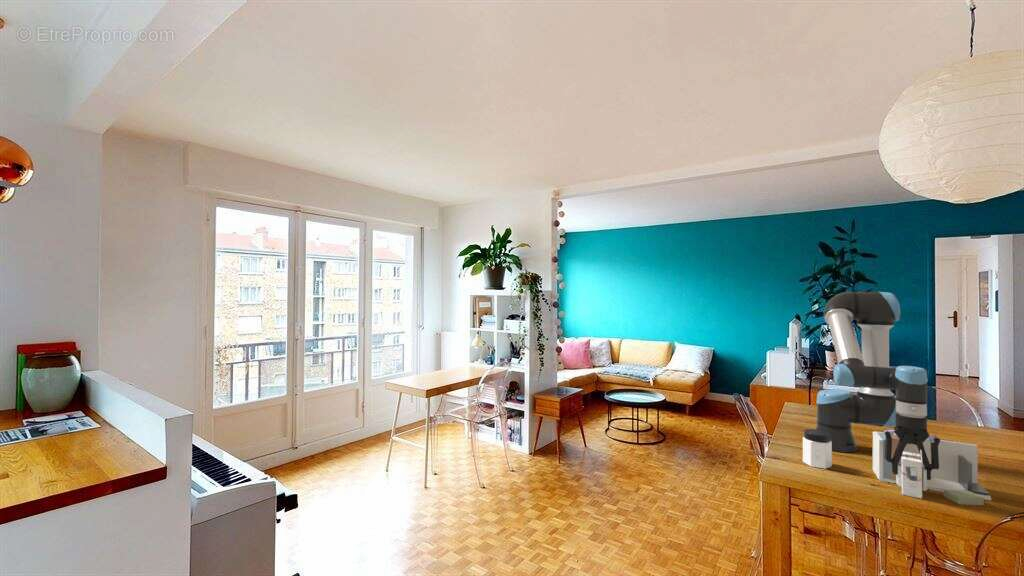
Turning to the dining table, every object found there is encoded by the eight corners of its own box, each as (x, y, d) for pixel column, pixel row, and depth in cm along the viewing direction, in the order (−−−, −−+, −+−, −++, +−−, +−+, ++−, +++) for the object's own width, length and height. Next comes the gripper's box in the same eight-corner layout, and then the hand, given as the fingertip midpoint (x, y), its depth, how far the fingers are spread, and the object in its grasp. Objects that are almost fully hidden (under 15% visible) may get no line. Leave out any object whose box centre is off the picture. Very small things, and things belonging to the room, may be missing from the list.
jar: (803, 465, 162) (803, 433, 162) (801, 458, 169) (801, 427, 169) (833, 470, 158) (833, 437, 158) (830, 462, 165) (830, 431, 165)
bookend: (967, 491, 139) (967, 463, 139) (958, 481, 146) (958, 455, 146) (989, 495, 136) (989, 466, 136) (979, 485, 143) (979, 458, 143)
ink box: (899, 485, 146) (900, 441, 146) (920, 489, 143) (920, 444, 143) (901, 494, 139) (901, 448, 139) (922, 499, 136) (922, 452, 136)
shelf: (879, 480, 149) (879, 437, 149) (872, 469, 159) (872, 428, 159) (991, 500, 136) (991, 452, 136) (976, 486, 145) (976, 441, 145)
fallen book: (958, 505, 133) (958, 496, 133) (943, 497, 138) (943, 489, 138) (983, 506, 133) (983, 498, 133) (968, 498, 138) (968, 490, 138)
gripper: (877, 413, 142) (876, 484, 142) (954, 422, 133) (954, 498, 133) (872, 408, 149) (872, 476, 149) (945, 416, 140) (945, 488, 139)
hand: (911, 486), depth 141 cm, fingers closed on ink box, 5 cm apart
